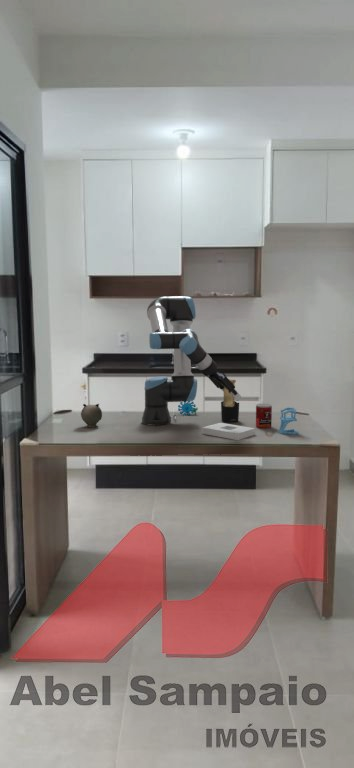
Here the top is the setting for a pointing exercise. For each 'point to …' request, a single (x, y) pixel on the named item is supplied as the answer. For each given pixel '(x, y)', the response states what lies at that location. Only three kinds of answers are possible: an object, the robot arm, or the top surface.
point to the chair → (287, 421)
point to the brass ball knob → (228, 396)
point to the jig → (229, 431)
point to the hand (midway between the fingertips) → (235, 397)
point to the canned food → (263, 415)
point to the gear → (187, 408)
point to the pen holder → (230, 413)
